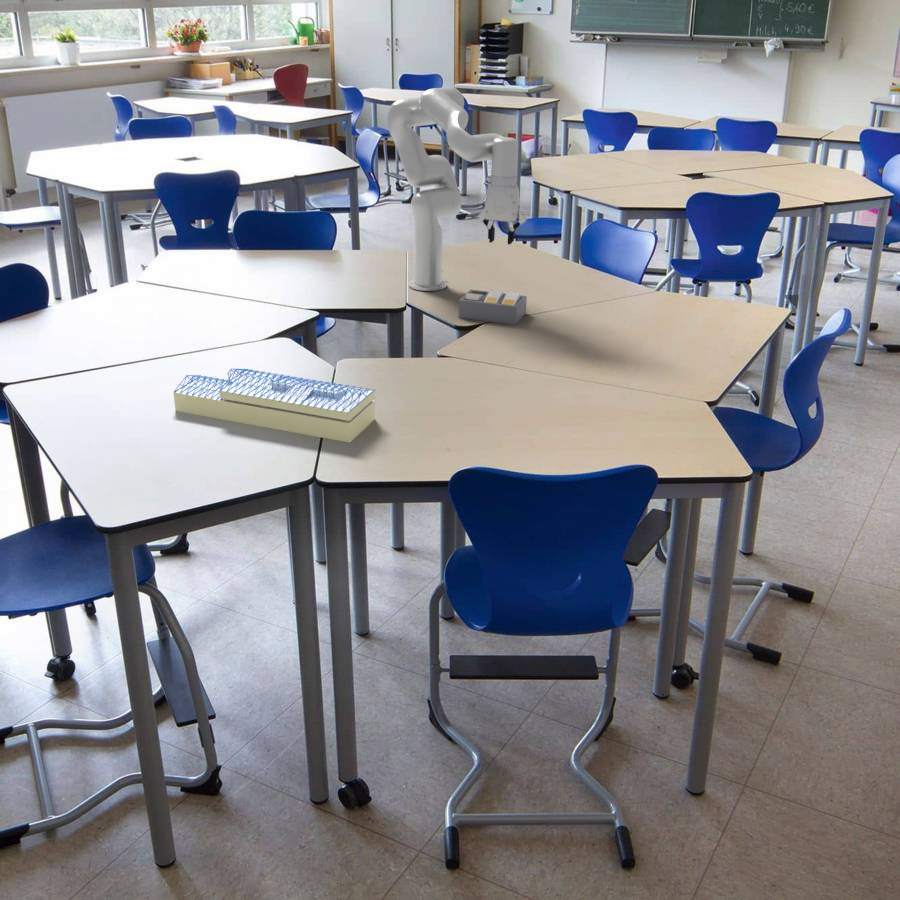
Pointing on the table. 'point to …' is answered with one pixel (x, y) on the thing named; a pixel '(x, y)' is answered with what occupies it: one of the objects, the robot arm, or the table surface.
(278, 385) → the keyboard
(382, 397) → the table surface
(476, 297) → the outlet rocker
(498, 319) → the grey storage tray
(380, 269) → the table surface
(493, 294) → the outlet rocker
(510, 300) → the rocker outlet
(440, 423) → the table surface
